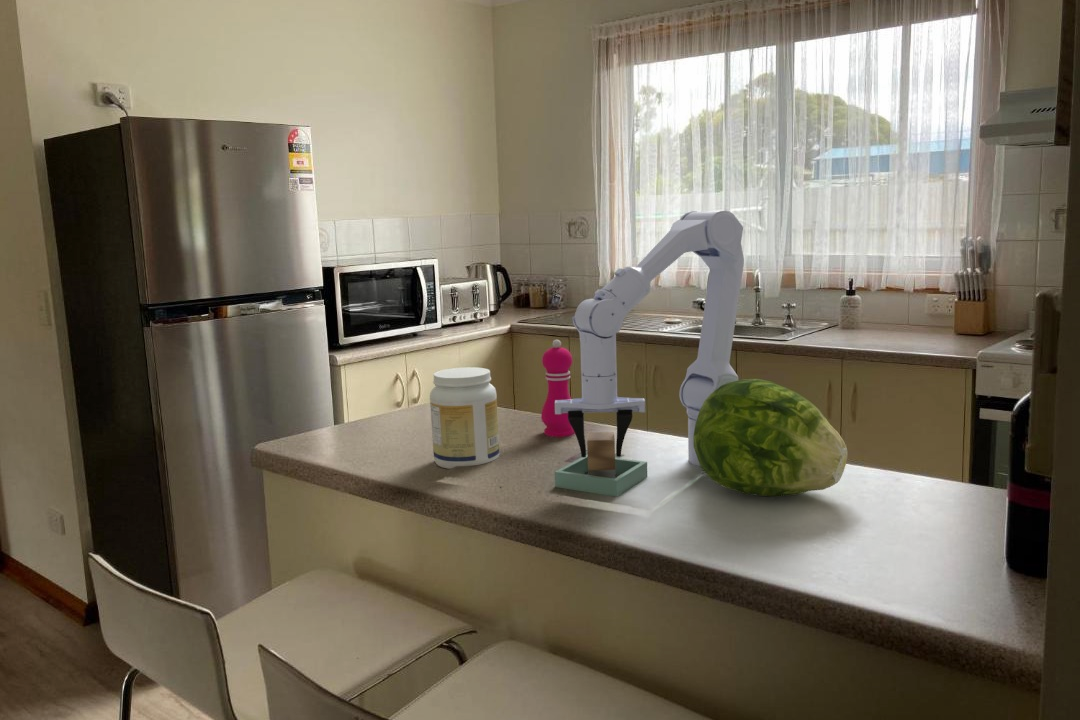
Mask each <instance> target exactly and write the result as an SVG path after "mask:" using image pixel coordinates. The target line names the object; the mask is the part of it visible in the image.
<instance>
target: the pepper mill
mask: <svg viewBox="0 0 1080 720" xmlns="http://www.w3.org/2000/svg"><path fill="white" fill-rule="evenodd" d="M551 344H552V347H551V348H548V349H547V350H546V351H544V353H543V355H542V358H541V359H542V360H541V361H542V363H541V364H542V366H543V367H544V369H546V371H545V373H544V374H545V377H544V378H545V380H547V386H548V388H547V389H548V390H547V395H546V399H545V402H544V404H543V407H542V411H541V418H540V419H541V422H542V423H543V425H545V426H546V428H544V431H543V433H544V435H546V436H548V437H553V438H554V437H555V438H560V437H561V438H562V437H569V436H572V435H575V432H574V430H573V428H572V426H571V425H570V423H569V420H568V413H562V414H555V400H568V399H572V397H571V394H570V391H569V379H571V371H570V370H569V369H570V368H571V366H572V365H573V355H572V354H571V352H570V350H568V349H567V348H565V347H561V346H562V342H561V340H559V339H554V340H553V341H552V343H551Z"/></svg>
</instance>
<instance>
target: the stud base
mask: <svg viewBox="0 0 1080 720" xmlns="http://www.w3.org/2000/svg"><path fill="white" fill-rule="evenodd" d="M587 454H588V453H587V449H586V455H587ZM624 456H625V454H622V453H621V457H617V456H616V453H615V458H622V457H624ZM580 458H581V452H579V453H577V454H575V455H573V456H572V457H569V458H568V459H566V460H565V462H566V463H572V462H574V461H576V460H578V459H580Z"/></svg>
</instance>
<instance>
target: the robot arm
mask: <svg viewBox="0 0 1080 720" xmlns="http://www.w3.org/2000/svg"><path fill="white" fill-rule="evenodd" d="M743 231H744V226H743V225H742V224H741V222H740V221H739V219H738V218H737V217H736V215H735V214H734V213H733V212H731V211H729V210H726V209H724V210H723V209H722V210H718V211H693V210H691V211H687V212H685V213H684V214H683V215H682V216H681V217H680V218H679V219H678V220H676V221H674V222H673V223H672V225H671V227H670V229H669V230H668V232H667V233H666V234H665V235H664V236H663V237H662V238H661V240H659V242H657V244H656V245H655V246H654V247H653V248H652V249H651V250H650V251H649V252H648V254H646V255H645V256H644V257H643V258H642V260H641V261H640V262H639V263H638V264H637V265H636V266H628V265H627V266H625V267H624V268H617V270H616V271H614V272H613V274H614V277H613V278H611V280H610V281H609V282H608V283H606V284H605V285H604V286H603V287H602V288H601V289H599V288H598V289H597V290H596V291H594V296H593V298H589V299H588V298H587V299H585V300H583V301H581V302H580V303H579V304H578V306H577V307H576V309H575V310H576V311H575V313H574V316H572V324H573V326H574V327H575V329H576V330H577V332H578V335H579V344H580V345H579V346H580V347H579V348H580V375H581V379H580V380H581V398H580V397H579V398H571V399H568V400H555V414H562V413H568V420H569V423H570V425H571V426H572V428H573V430H574V432H575V434H574V435H575V437H576V439H577V442H578V445H579V450H580V453H581V457H586V450H587V449H586V448H587V447H586V445H587V444H586V438H585V415H584V413H586V414H587V413H616V441H615V454H616V456H617V457H620V458H622V457H621V454H622V450H623V444H624V440H625V438H626V435H627V431H628V428H629V427H630V425H631V422H632V420H633V412H634V413H635V412H636V413H637V412H638V413H646V399H645V398H644V397H642V398H641V397H634V398H633V397H619V396H618V371H617V369H618V368H617V334H618V333H619V332H620V330H621V329H622V327H623V324H624V318H625V317H626V316H627V315H628V314H629V313H630V312H631V311H632V310H633V309H634V308H635V307H636V306H638V304H639V303H640V302H641V301H643V299H645V298H646V296H648V295H649V294H650V292H651V282H653V280H654V279H656V278H657V277H659V275H660V274H661V273H662V272H664V270H666V269H668V268H669V267H670V266H671V265H672V264H673V263H674V262H676V261H677V260H678V259H680V257H682V255H684V254H686V253H691V252H692V253H694V254H695V255H696V256H698V257H700V258H701V260H702V261H703V263H705V265H706V266H707V267H708V269H709V275H708V279H707V280H708V281H707V289H706V294H705V295H706V296H705V301H704V308H703V309H704V310H703V315H702V323H701V330H700V335H699V336H700V337H699V344H698V345H699V346H698V350H697V358H696V360H694V361H693V362H692V363H691V364H689V366H688V367H687V368H686V375H685V378H684V380H682V383H681V385H680V388H679V400H680V402H681V405H682V406H683V407H685V408H686V409H685V411H686V414H687V433H688V434H687V435H688V436H687V438H688V439H687V441H688V442H687V443H688V447H687V448H688V449H687V450H688V452H687V453H688V454H687V455H688V456H687V457H688V462H689V463H690V464H691V465H695V466H699V467H701V466H700V463H699V461H698V458H697V455H696V452H695V449H694V441H693V436H694V430H695V424H696V421H697V418H698V414H699V412H700V409H701V407H702V405H703V403H704V401H705V400H706V399H707V398H708V396H709V395H710V394H711V393H713V392H714V391H715V390H716V389H718V388H719V387H720V386H722V385H724V384H726V383H729V382H733V381H737V380H739V376H738V374H737V373H736V371H735V370H734V368H733V367H732V365H731V364H730V363H731V362H730V361H731V354H732V347H733V341H734V333H735V328H736V327H735V326H736V320H737V314H738V308H739V301H740V300H739V299H740V292H741V287H742V285H741V284H742V279H743V272H744V265H745V258H744V253H743V247H742V237H743ZM701 472H705V471H704V470H703V469H701Z"/></svg>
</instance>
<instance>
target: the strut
mask: <svg viewBox="0 0 1080 720" xmlns="http://www.w3.org/2000/svg"><path fill="white" fill-rule="evenodd" d="M586 434H587V435H586V437H587V438H586V439H587V440H586V445H587V447H586V448H587V449H586V450H587V453H588V472H587V475H592V476H599V477H606V478H613V479H615V478H616V474H615V454H616V441H615V439H616V438H615V431H602V432H598V431H596V432H587V433H586Z"/></svg>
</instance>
